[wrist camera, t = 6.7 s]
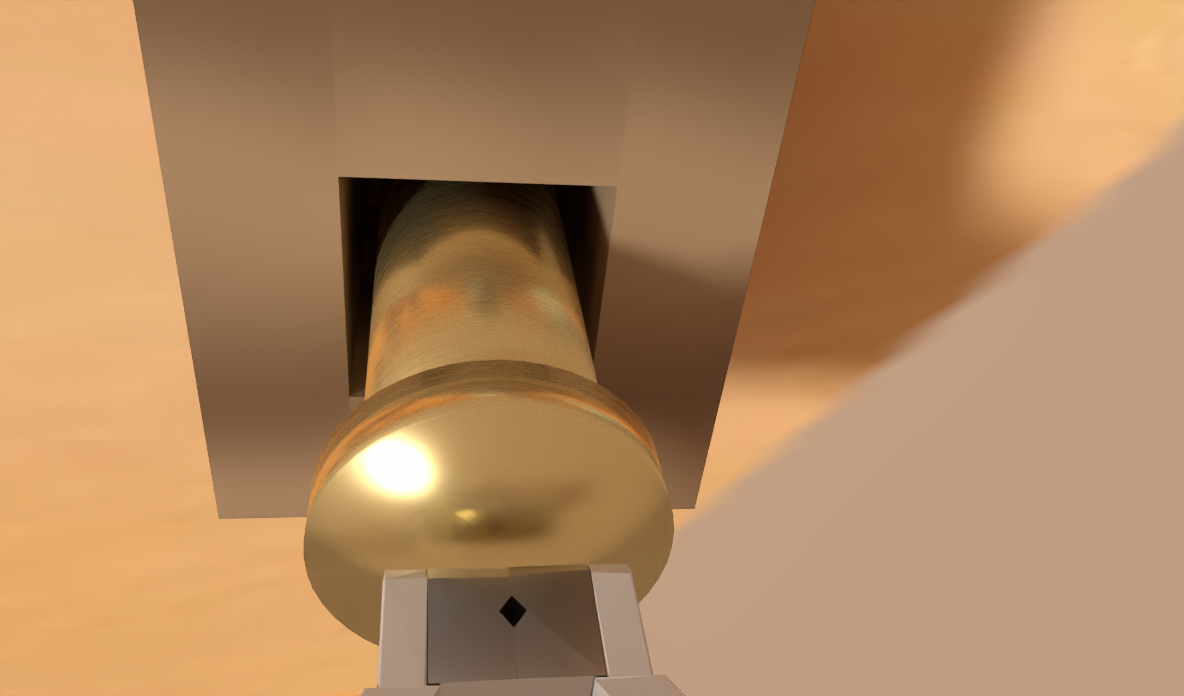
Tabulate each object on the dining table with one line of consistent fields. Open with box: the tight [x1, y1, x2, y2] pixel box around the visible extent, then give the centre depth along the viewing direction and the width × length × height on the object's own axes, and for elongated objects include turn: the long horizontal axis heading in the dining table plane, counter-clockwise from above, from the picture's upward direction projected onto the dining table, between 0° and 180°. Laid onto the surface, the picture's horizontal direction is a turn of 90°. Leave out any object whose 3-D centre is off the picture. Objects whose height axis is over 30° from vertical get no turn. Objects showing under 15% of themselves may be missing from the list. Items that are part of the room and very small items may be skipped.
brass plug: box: [304, 178, 674, 646], centre depth 17 cm, size 5×5×10 cm
